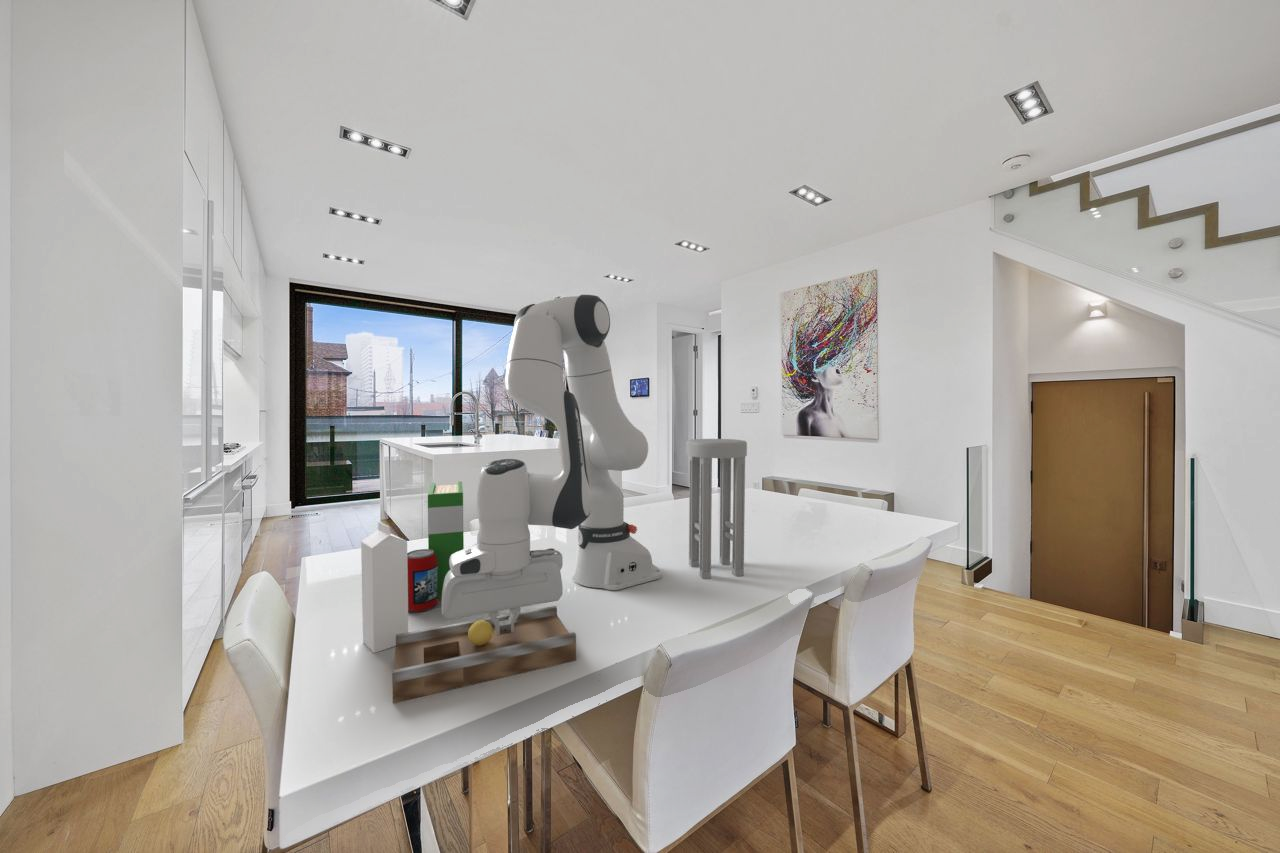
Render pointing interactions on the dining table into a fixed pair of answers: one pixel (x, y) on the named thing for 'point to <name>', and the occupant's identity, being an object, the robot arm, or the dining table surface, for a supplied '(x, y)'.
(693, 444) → the stool
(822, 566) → the dining table surface
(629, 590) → the dining table surface
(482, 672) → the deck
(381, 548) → the milk
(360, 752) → the dining table surface
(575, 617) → the dining table surface
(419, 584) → the beverage can
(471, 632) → the ball
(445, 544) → the hardback book
